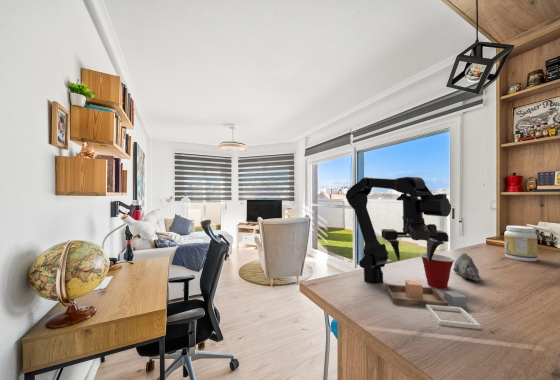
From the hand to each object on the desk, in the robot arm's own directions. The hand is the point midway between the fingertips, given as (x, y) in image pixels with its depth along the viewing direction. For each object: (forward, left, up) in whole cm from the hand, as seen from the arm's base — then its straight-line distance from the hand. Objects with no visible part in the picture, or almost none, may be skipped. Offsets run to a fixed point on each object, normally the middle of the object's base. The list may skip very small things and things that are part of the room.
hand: (413, 260), depth 76 cm
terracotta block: (0, 0, -12) cm, 12 cm away
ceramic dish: (+6, -11, -13) cm, 18 cm away
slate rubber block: (+11, -2, -13) cm, 17 cm away
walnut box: (0, 0, -13) cm, 13 cm away
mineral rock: (+28, +27, -13) cm, 41 cm away
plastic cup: (+12, +13, -13) cm, 22 cm away
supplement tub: (+71, +64, -13) cm, 96 cm away
